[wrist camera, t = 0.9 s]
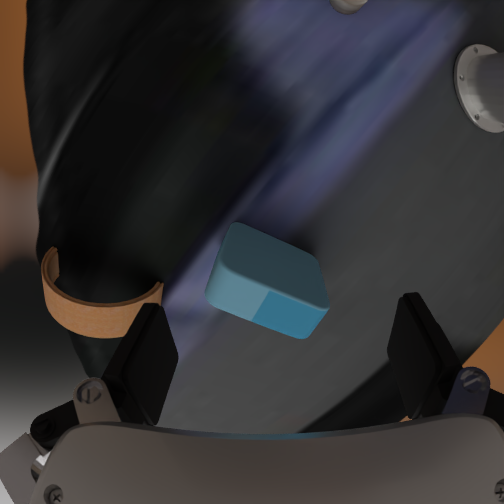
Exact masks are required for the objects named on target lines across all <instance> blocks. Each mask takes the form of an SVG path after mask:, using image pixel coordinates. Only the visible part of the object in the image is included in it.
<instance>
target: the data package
mask: <svg viewBox="0 0 504 504" xmlns="http://www.w3.org/2000/svg"><path fill="white" fill-rule="evenodd" d="M205 297H206V299H207V301H208V302H209V303H210V304H211V305H213V306H214V307H216V308H219V309H221V310H224V311H226V312H229V313H231V314H234V315H236V316H239V317H241V318H244V319H247V320H249V321H252V322H254V323H257V324H260V325H262V326H265V327H268V328H270V329H273V330H276V331H278V332H281V333H284V334H287V335H289V336H292V337H295V338H298V339H305V338H307V337H308V336H309V335H310V334H311V332H312V331H313V330H314V329H315V327H316V326H317V325H318V323H319V322H320V321H321V319H322V318H323V317H324V315H325V314H326V312H327V311H328V310H329V308H330V303H329V299H328V295H327V291H326V288H325V284H324V280H323V277H322V273H321V270H320V266H319V263H318V261H317V259H316V258H315V257H314V256H312V255H311V254H309V253H307V252H305V251H303V250H301V249H299V248H296V247H294V246H292V245H290V244H288V243H285V242H283V241H281V240H279V239H277V238H274V237H272V236H270V235H268V234H265V233H263V232H261V231H259V230H256V229H254V228H252V227H250V226H247V225H245V224H243V223H239V222H234V223H232V224H231V225H230V227H229V229H228V231H227V234H226V236H225V238H224V240H223V242H222V245H221V247H220V249H219V251H218V254H217V257H216V260H215V262H214V265H213V268H212V271H211V274H210V277H209V280H208V283H207V286H206V289H205Z"/></svg>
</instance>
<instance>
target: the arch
mask: <svg viewBox="0 0 504 504" xmlns="http://www.w3.org/2000/svg"><path fill="white" fill-rule="evenodd" d="M41 269H42V279H43V287H44V294H45V300H46V304H47V307H48V310H49V312H50V313H51V315H52V316H53V317H54V318H55V319H56V320H57V321H58V322H59V323H60V324H61V325H63V326H64V327H65V328H67V329H69V330H71V331H73V332H75V333H78V334H81V335H85V336H89V337H96V338H115V337H122V336H124V335H125V334H126V333H127V331H128V329H129V327H130V326H131V324H132V322H133V320H134V319H135V317H136V315H137V313H138V312H139V310H140V308H141V307H142V305H143V304H144V303H158V304H159V305H161V297H162V290H163V283H161V284H160V282H157V283H156V284H155V286H154V287H153V288H152V289H151V290H150V291H148V292H147V293H145V294H143V295H142V296H140V297H137V298H135V299H132V300H129V301H124V302H119V303H110V304H106V303H92V302H86V301H82V300H78V299H75V298H73V297H71V296H69V295H67V294H65V293H63V292H62V291H60V290H59V289H58V288H57V287H56V286H55V285H54V284H53V283H54V282H55V280H56V279H57V277H58V276H59V274H58V273H59V265H58V252H57V248H54V247H51V248H50V249H49V251H48V252H47V253H46V254H45V256H44V258H43V261H42V265H41Z"/></svg>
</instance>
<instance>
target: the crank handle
mask: <svg viewBox="0 0 504 504" xmlns="http://www.w3.org/2000/svg"><path fill="white" fill-rule="evenodd" d="M329 1H330V4H331V6H332V7H333V8H334V9H335V10H336V11H337V12H339V13H342V14H347V15H349V14H354V13H356V12H357V11H358V10H359V9H360V8H361V7H362V6H363V5H364V4H365V3H366V2H367V1H368V0H329Z"/></svg>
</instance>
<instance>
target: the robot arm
mask: <svg viewBox="0 0 504 504" xmlns="http://www.w3.org/2000/svg"><path fill="white" fill-rule="evenodd" d="M454 84H455V89H456V93H457V97H458V99H459V102H460V105H461V106H462V108H463V110H464V112H465V113H466V115H467V116H468V118H469V119H470V120H471V121H472V122H473V123H474V124H475V125H476V126H478V127H479V128H481V129H483V130H485V131H488V132H493V133H499V132H502V131H504V53H498V52H496V51H495V50H494V49H492V48H490V47H489V46H486V45H482V44H475V45H470V46H468V47H465V48H464V49H463V50H462V51H461V52H460V53H459V55H458V57H457V59H456V62H455V67H454ZM387 353H388V357H389V360H390V363H391V365H392V368H393V371H394V374H395V377H396V380H397V383H398V387H399V390H400V393H401V396H402V399H403V402H404V406H405V409H406V412H407V416H408V418H409V419H412V420H409V421H404V422H398V423H392V424H385V425H379V426H373V427H366V428H358V429H350V430H340V431H329V432H316V433H298V434H232V433H214V432H201V431H190V430H181V429H172V428H163V427H155V426H153V425H157V423H158V421H159V418H160V415H161V411H162V408H163V405H164V402H165V399H166V396H167V393H168V390H169V387H170V384H171V381H172V378H173V375H174V372H175V369H176V366H177V363H178V352H177V349H176V346H175V343H174V340H173V337H172V334H171V330H170V327H169V324H168V321H167V318H166V314H165V311H164V308H163V307H162V306H160V305H159V304H158V303H144V304H143V305H142V307H141V308H140V310H139V312H138V313H137V315H136V317H135V319H134V320H133V322H132V324H131V326H130V327H129V329H128V331H127V333H126V334H125V335H124V337H123V339H122V340H121V342H120V344H119V346H118V348H117V349H116V351H115V353H114V355H113V357H112V359H111V360H110V362H109V364H108V366H107V368H106V370H105V372H104V374H103V376H102V377H101V379H98V378H89V379H85V380H83V381H82V382H80V383H79V384H78V385H77V386H76V387H75V389H74V392H73V400H71V401H69V402H67V403H65V404H63V405H61V406H58V407H56V408H54V409H52V410H50V411H48V412H45V413H43V414H41V415H39V416H38V417H36V418H35V419H34V421H33V422H32V424H31V428H30V433H29V434H27V433H24V434H23V435H22V436H21V437H19V438H18V439H17V440H16V441H14V442H13V443H12V444H11V445H9V446H8V447H7V448H6V449H5V450H3V451H2V452H1V453H0V479H1V481H2V483H3V484H4V486H5V488H6V490H7V492H8V494H9V495H10V497H11V499H12V500H13V502H14V504H504V394H502V393H500V392H497V391H495V390H493V389H491V388H490V380H489V377H488V376H487V374H486V373H485V372H484V371H483V370H481V369H479V368H477V367H466V368H463V367H462V365H461V363H460V361H459V359H458V357H457V356H456V354H455V352H454V350H453V348H452V346H451V345H450V343H449V341H448V339H447V337H446V336H445V334H444V332H443V330H442V329H441V327H440V325H439V324H438V323H437V322H436V321H435V319H434V317H433V315H432V314H431V312H430V310H429V309H428V307H427V306H426V304H425V302H424V301H423V299H422V297H421V296H420V294H419V293H418V292H414V293H405V294H404V295H403V297H400V298H399V301H398V306H397V310H396V315H395V319H394V323H393V327H392V331H391V335H390V339H389V343H388V347H387Z"/></svg>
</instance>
